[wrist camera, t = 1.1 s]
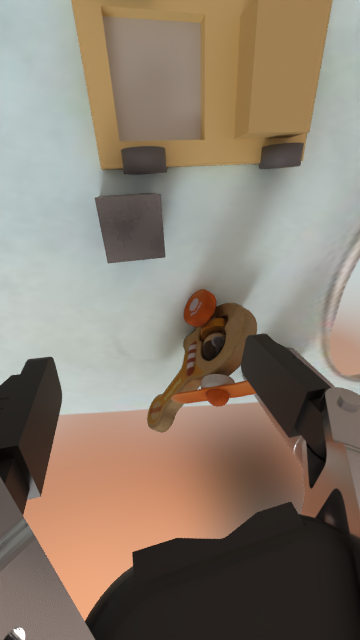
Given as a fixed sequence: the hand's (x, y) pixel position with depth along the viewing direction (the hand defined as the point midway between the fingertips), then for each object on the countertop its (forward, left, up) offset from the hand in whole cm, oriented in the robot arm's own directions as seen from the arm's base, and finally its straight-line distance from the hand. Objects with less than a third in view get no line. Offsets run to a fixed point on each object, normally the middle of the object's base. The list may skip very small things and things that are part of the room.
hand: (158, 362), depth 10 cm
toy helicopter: (-6, +14, -21) cm, 26 cm away
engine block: (0, -3, -21) cm, 21 cm away
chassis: (-9, -14, -21) cm, 27 cm away
